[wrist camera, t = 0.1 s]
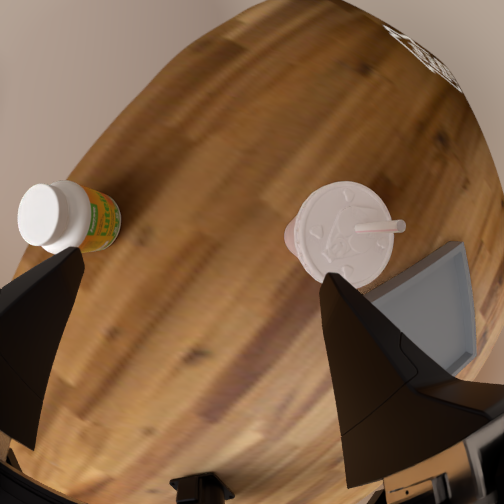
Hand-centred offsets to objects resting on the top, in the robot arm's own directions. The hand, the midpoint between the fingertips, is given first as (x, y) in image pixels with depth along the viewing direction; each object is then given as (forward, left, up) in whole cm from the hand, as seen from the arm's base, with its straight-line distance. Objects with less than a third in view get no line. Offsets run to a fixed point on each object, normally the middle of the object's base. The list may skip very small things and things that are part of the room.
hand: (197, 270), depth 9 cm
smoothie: (-2, -8, -15) cm, 17 cm away
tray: (-18, -17, -15) cm, 29 cm away
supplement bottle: (+7, +9, -15) cm, 19 cm away
